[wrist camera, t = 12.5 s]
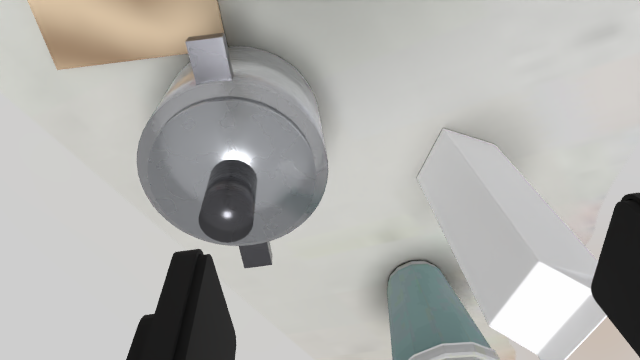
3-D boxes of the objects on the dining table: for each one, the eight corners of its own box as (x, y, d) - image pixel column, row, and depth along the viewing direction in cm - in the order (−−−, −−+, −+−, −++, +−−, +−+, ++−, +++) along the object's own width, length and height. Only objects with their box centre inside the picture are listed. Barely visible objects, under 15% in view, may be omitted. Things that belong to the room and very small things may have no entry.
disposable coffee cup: (454, 237, 50) (513, 351, 37) (461, 301, 56) (514, 419, 43) (362, 259, 51) (388, 378, 38) (378, 320, 56) (406, 441, 44)
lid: (127, 108, 30) (95, 150, 25) (304, 85, 30) (308, 122, 25) (177, 245, 36) (160, 300, 31) (323, 225, 36) (329, 278, 31)
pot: (132, 22, 36) (91, 55, 28) (306, 0, 36) (313, 27, 28) (194, 217, 46) (177, 280, 38) (329, 200, 46) (338, 260, 38)
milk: (415, 177, 46) (505, 369, 27) (443, 126, 43) (565, 300, 24) (467, 192, 47) (587, 384, 28) (497, 143, 44) (653, 320, 25)
